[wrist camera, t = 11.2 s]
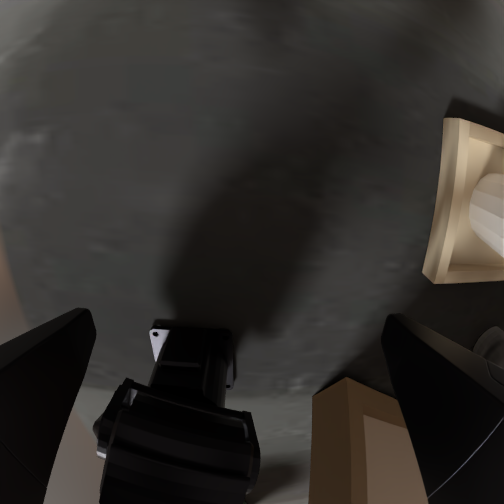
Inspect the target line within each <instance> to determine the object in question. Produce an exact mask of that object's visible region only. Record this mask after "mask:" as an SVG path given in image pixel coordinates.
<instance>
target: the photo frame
mask: <svg viewBox="0 0 504 504" xmlns="http://www.w3.org/2000/svg"><path fill="white" fill-rule="evenodd" d="M427 499H428V498H427V496H426V492H425V488H424V484H423V480H422V477H421V473H420V469H419V466H418V462H417V459H416V456H415V452H414V449H413V446H412V443H411V439H410V436H409V433H408V430H407V427H406V424H405V421H404V418H403V415H402V412H401V409H400V406H399V403H398V400H396V399H394V398H392V397H389V396H387V395H385V394H382V393H380V392H378V391H376V390H374V389H371V388H369V387H367V386H365V385H363V384H360V383H358V382H356V381H354V380H352V379H350V378H348V377H345V378H344V379H342V380H340V381H339V382H337V383H335V384H334V385H332V386H330V387H328V388H327V389H325V390H323V391H321V392H320V393H318V394H316V395H314V396H312V444H311V468H310V487H309V502H308V504H428V500H427Z"/></svg>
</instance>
